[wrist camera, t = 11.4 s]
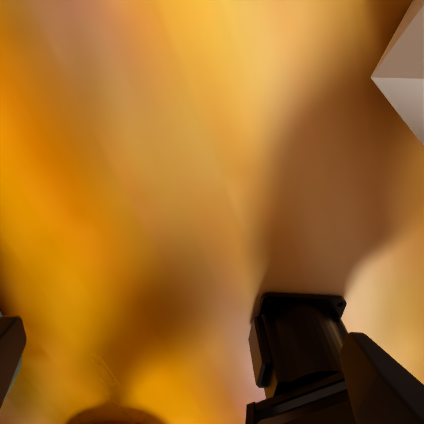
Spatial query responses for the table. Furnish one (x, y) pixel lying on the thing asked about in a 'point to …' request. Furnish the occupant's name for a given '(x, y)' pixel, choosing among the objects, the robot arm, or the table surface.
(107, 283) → the table surface
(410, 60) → the die
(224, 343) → the table surface
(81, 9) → the table surface
